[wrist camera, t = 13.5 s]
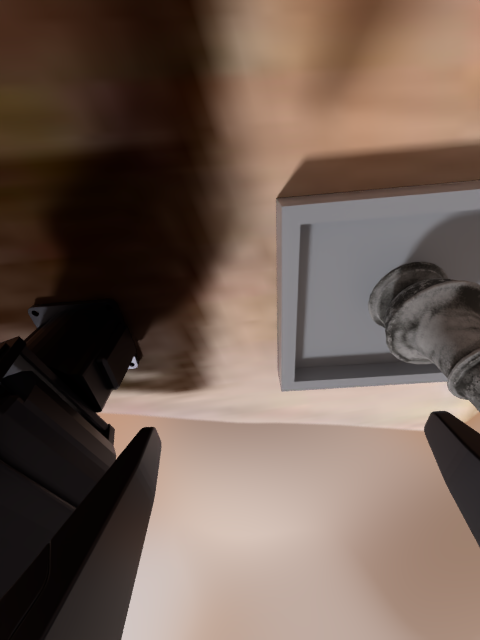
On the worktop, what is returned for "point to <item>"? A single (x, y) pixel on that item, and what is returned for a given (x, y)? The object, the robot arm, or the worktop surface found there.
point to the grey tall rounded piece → (432, 323)
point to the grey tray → (362, 276)
